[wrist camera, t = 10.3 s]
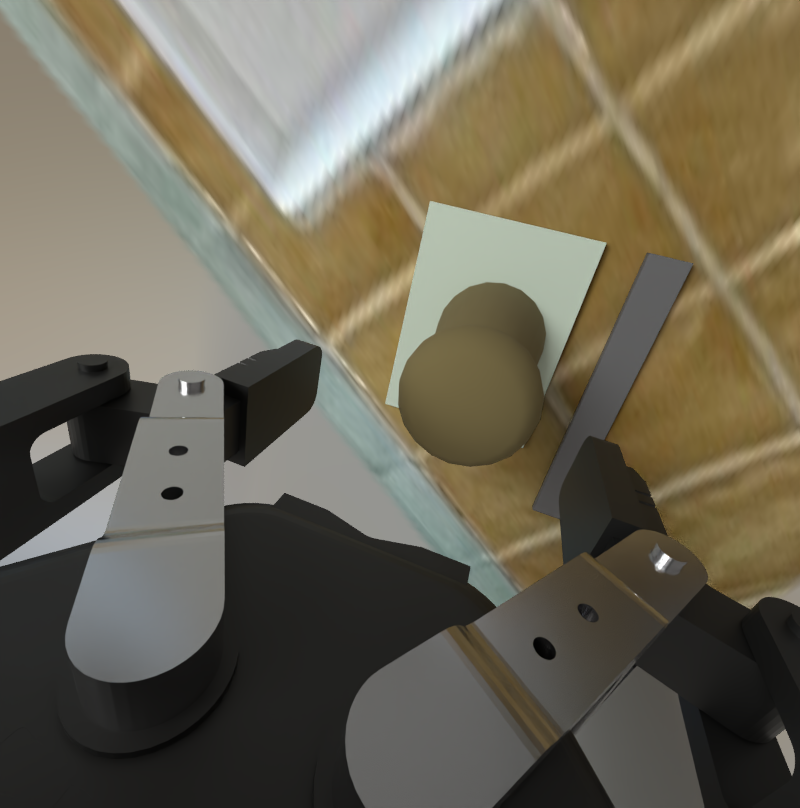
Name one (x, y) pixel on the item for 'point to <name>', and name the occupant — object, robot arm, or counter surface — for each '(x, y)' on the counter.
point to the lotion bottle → (642, 747)
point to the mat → (495, 276)
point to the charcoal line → (616, 367)
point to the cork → (477, 377)
